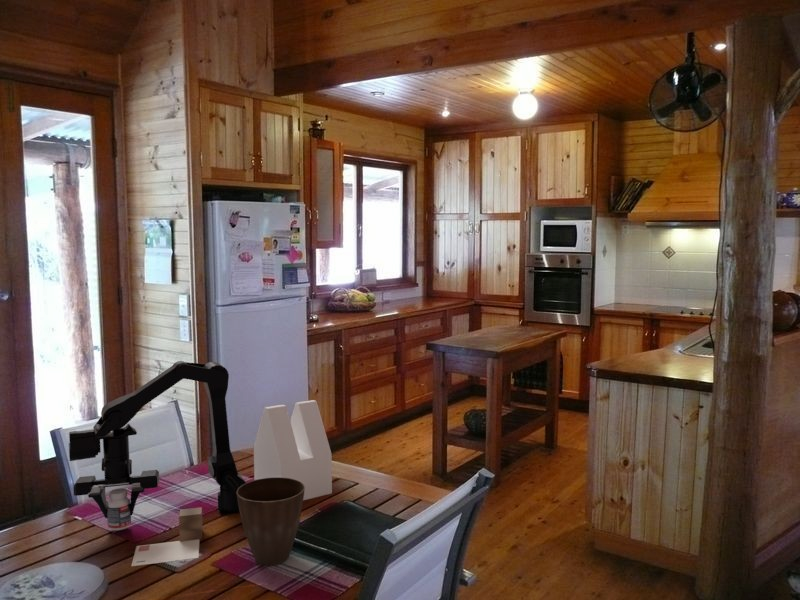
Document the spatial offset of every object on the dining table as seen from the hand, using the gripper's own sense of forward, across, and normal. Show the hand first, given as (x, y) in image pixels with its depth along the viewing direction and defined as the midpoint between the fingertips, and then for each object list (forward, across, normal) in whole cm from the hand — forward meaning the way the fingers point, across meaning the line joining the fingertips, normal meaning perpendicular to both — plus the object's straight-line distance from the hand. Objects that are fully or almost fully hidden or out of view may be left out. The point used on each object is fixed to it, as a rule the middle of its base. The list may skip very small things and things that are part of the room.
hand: (119, 516), depth 159 cm
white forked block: (+4, -44, -17) cm, 47 cm away
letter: (+4, -12, +15) cm, 20 cm away
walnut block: (+4, -17, +8) cm, 19 cm away
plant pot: (+4, -35, +24) cm, 43 cm away
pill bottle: (+3, 0, 0) cm, 3 cm away
